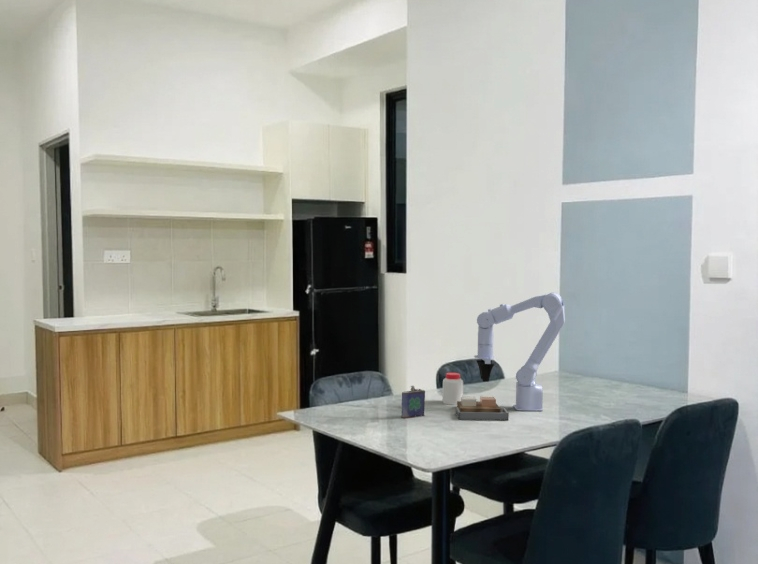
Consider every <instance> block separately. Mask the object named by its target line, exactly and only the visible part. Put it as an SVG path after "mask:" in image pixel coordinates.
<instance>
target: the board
mask: <svg viewBox="0 0 758 564" xmlns="http://www.w3.org/2000/svg"><path fill="white" fill-rule="evenodd" d="M456 407H458V408H459V410H460V412H485V413H501V408H500V407H499V405H498V404H497V403H496V407H484V406H481V404H480V401H477V400H476V406H462V405H461V401H457V405H456Z"/></svg>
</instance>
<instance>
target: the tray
mask: <svg viewBox="0 0 758 564" xmlns="http://www.w3.org/2000/svg"><path fill="white" fill-rule="evenodd" d="M456 414H457V415H456ZM455 415H456V417H457V419H458V421H509V419H510V415H509V412H508V410H507V409H506V408H505V407H502V412H500V413H485V412H460V410H459V408H458V407H457V406H456V407H455Z"/></svg>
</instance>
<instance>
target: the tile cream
mask: <svg viewBox="0 0 758 564" xmlns="http://www.w3.org/2000/svg"><path fill="white" fill-rule="evenodd" d="M476 401H477V399H476V397H475V396H464V395H463V396H461V405H462V406H476Z"/></svg>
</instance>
